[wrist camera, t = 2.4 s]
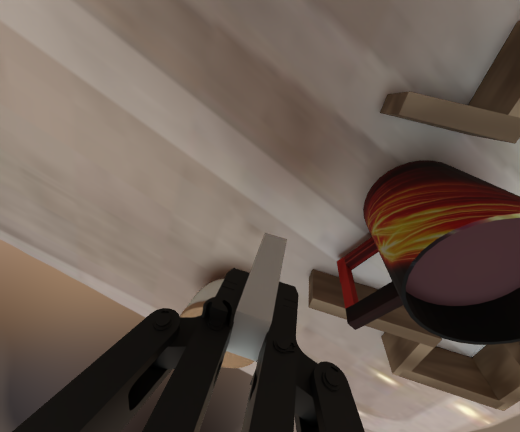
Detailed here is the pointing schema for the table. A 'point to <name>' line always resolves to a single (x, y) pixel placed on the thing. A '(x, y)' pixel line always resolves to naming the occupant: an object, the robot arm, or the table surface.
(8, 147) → the table surface
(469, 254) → the mug
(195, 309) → the lidded jar
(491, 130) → the trap lane
